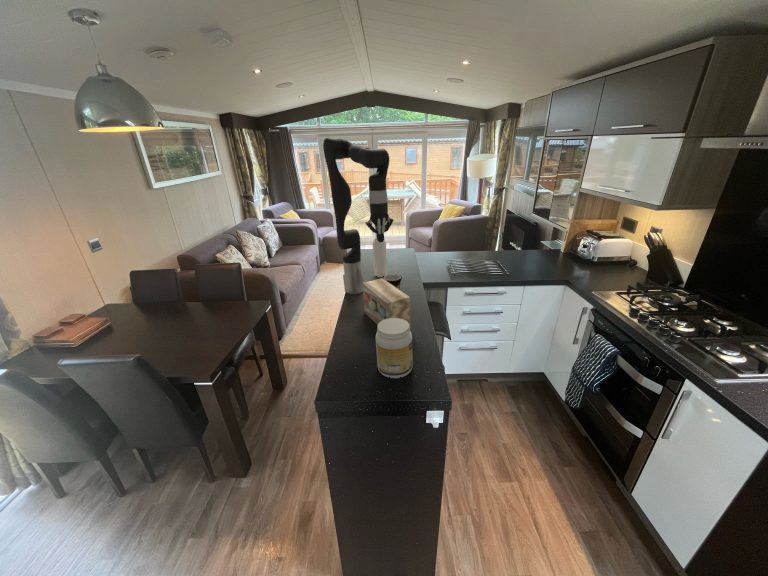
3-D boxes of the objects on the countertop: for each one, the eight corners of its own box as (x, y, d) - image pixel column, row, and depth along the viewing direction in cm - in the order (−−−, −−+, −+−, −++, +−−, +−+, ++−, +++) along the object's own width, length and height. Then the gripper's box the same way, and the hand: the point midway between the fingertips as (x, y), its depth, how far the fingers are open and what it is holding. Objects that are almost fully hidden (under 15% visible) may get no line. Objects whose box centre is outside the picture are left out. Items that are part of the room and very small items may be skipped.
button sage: (372, 312, 129) (372, 303, 128) (368, 308, 133) (368, 300, 131) (377, 311, 130) (376, 302, 128) (372, 307, 134) (372, 298, 132)
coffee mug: (389, 300, 155) (388, 282, 151) (381, 294, 162) (380, 276, 158) (409, 294, 160) (409, 276, 156) (401, 289, 167) (400, 271, 163)
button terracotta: (367, 305, 136) (367, 296, 134) (364, 301, 139) (363, 293, 138) (372, 304, 137) (371, 295, 135) (368, 300, 140) (367, 292, 138)
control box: (389, 336, 125) (387, 303, 119) (364, 312, 145) (362, 282, 138) (410, 329, 129) (409, 297, 123) (383, 307, 149) (382, 278, 142)
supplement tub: (417, 376, 102) (417, 332, 95) (381, 382, 100) (378, 338, 93) (407, 354, 113) (406, 313, 106) (374, 360, 111) (371, 319, 104)
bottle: (387, 277, 183) (384, 226, 171) (373, 277, 184) (370, 227, 172) (387, 272, 190) (385, 223, 178) (375, 272, 191) (372, 224, 179)
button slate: (383, 319, 124) (383, 310, 122) (378, 315, 127) (378, 306, 125) (388, 318, 124) (387, 309, 123) (383, 314, 128) (382, 305, 126)
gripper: (388, 198, 135) (389, 237, 142) (360, 202, 130) (363, 242, 137) (396, 200, 129) (398, 241, 136) (367, 204, 123) (370, 246, 130)
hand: (380, 241), depth 136 cm, fingers closed
